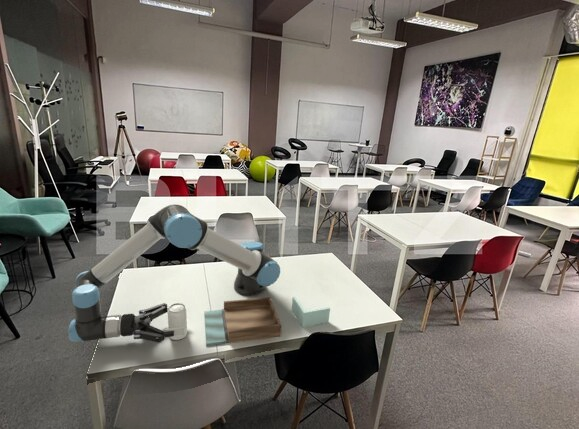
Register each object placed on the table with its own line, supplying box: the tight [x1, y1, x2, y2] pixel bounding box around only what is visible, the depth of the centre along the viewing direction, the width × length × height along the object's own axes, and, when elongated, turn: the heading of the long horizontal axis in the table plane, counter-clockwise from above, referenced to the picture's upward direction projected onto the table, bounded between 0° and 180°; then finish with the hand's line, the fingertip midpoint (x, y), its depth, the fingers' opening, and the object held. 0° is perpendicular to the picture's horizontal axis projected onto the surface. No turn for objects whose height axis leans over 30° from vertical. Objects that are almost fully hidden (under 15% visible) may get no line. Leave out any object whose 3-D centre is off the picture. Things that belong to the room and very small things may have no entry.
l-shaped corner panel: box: [291, 296, 331, 328], centre depth 137 cm, size 12×12×8 cm
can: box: [167, 302, 188, 341], centre depth 119 cm, size 6×6×12 cm
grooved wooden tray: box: [204, 296, 282, 347], centre depth 129 cm, size 20×28×5 cm
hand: (184, 318), depth 119 cm, fingers open, 13 cm apart
